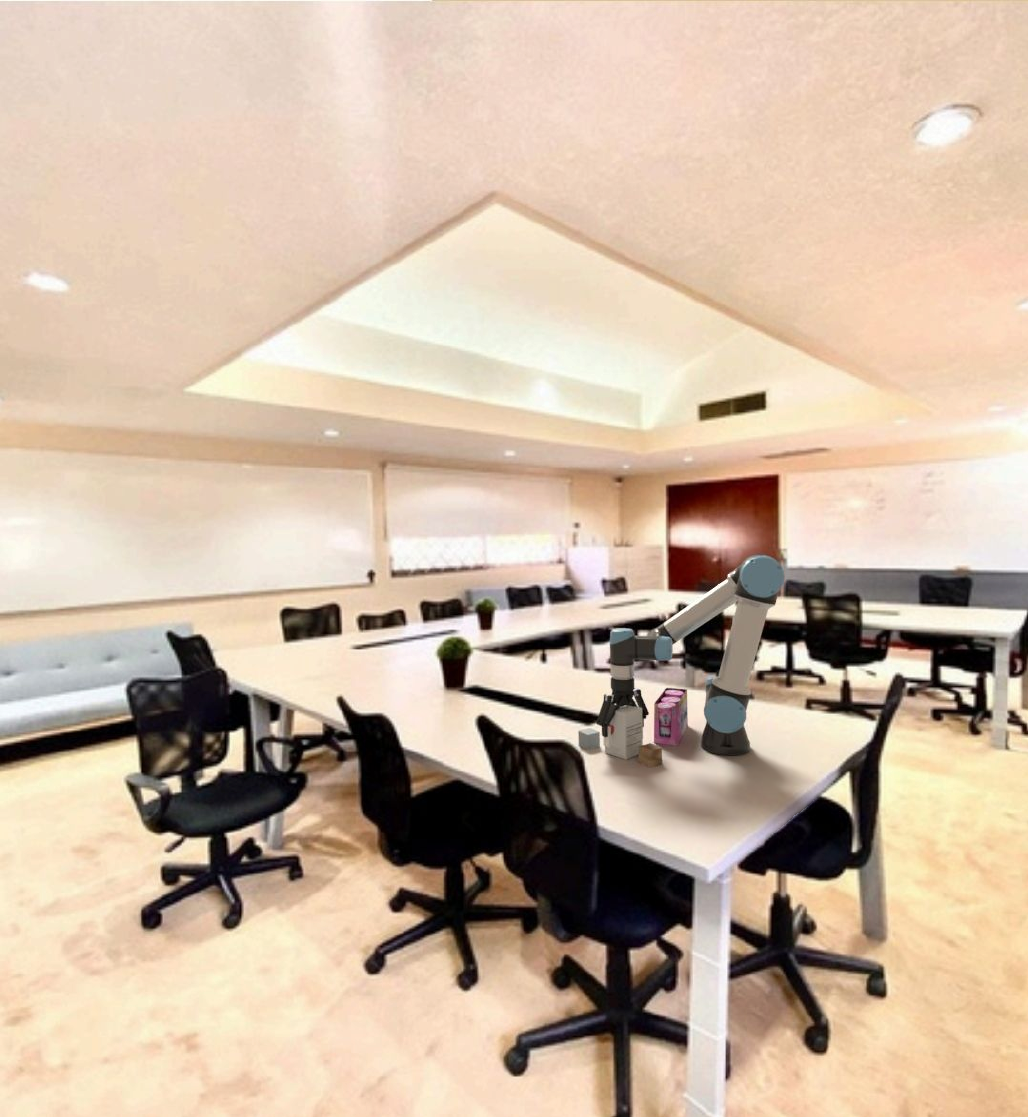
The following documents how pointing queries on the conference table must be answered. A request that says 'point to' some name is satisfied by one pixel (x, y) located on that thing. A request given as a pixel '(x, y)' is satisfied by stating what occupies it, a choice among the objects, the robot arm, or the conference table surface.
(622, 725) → the supplement box
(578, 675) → the conference table surface
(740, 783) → the conference table surface
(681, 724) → the gum box
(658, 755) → the walnut block
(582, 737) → the slate block
